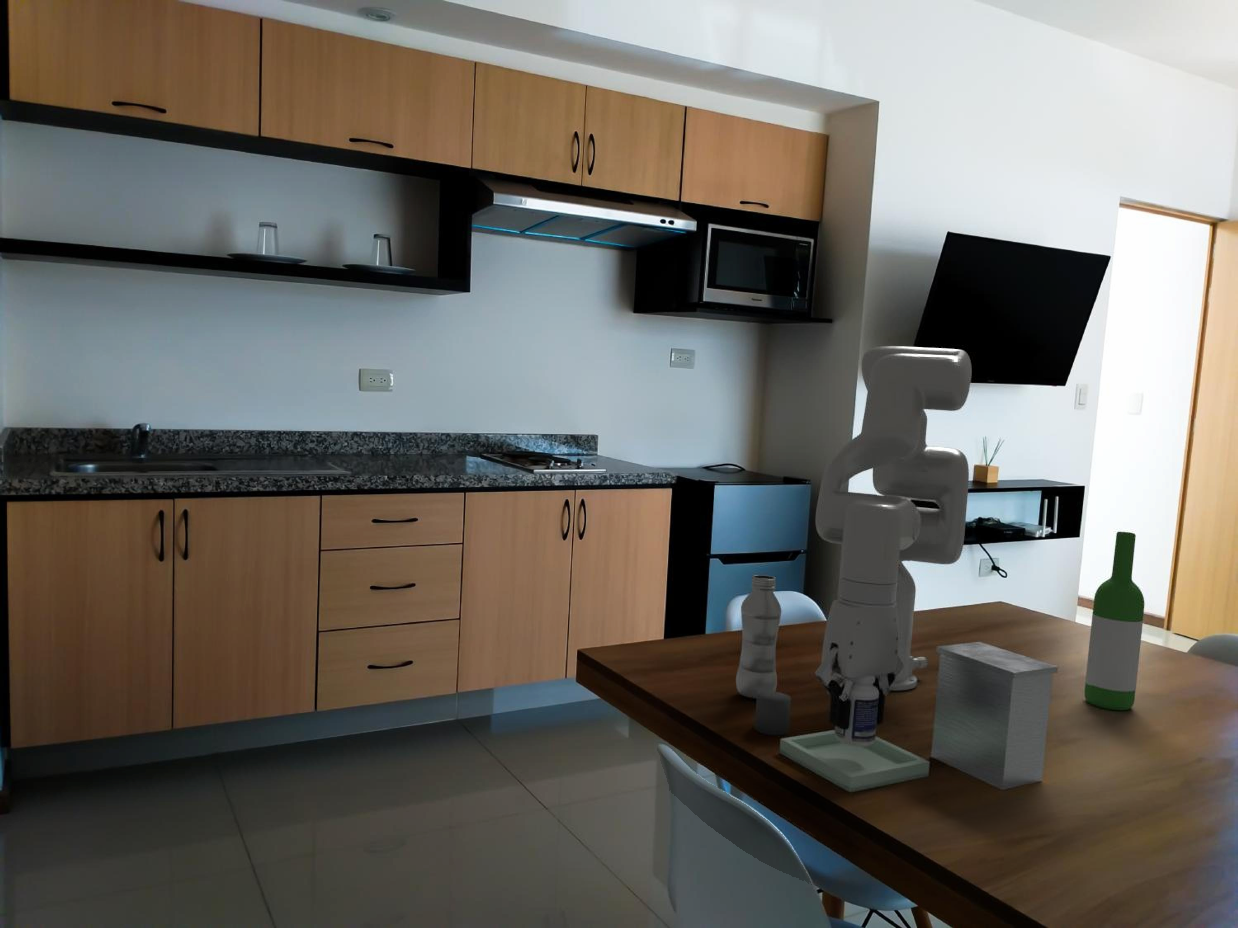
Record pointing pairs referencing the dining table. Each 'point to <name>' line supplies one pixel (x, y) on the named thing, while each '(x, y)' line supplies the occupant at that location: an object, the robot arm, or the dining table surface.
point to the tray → (854, 761)
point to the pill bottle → (861, 713)
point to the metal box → (992, 713)
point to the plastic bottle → (759, 638)
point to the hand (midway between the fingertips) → (855, 722)
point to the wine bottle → (1116, 633)
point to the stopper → (772, 713)
